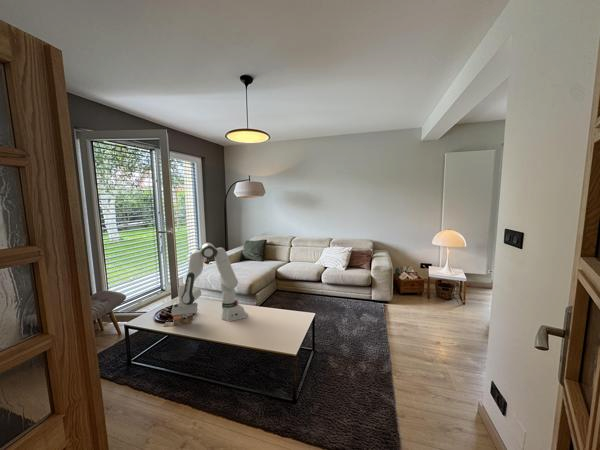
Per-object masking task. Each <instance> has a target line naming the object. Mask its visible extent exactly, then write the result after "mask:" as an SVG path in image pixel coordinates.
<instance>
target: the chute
mask: <svg viewBox="0 0 600 450" xmlns="http://www.w3.org/2000/svg"><path fill="white" fill-rule="evenodd" d="M184 316H187V315H186V314H184ZM193 320H194V313H192V314H188V316H187V319H179V320H174V324H173V322H166V321H165V323H164V325H163V327H165V328H166V327H174V326H183V325H185V326H186V325H192V323H193V322H192V321H193Z"/></svg>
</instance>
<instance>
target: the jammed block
mask: <svg viewBox="0 0 600 450" xmlns="http://www.w3.org/2000/svg"><path fill="white" fill-rule="evenodd" d="M179 319H183V317H182V315H172V320H173V324H174V320H179Z"/></svg>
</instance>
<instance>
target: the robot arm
mask: <svg viewBox="0 0 600 450" xmlns="http://www.w3.org/2000/svg"><path fill="white" fill-rule="evenodd" d="M205 259H214V261H215V265H216V267H217V271H218V272H219V274H220V275H219V281H220V288H221V295H222V298H221V299H222V302H221V308H222V310H221V316H220V318H221V319H222V320H223V321H227V322H233V321H239V320H243V319H246V318H248V317H247V316H248V313H247V311H246V310H245V309H244V307H243V306H242V305H241V304H239V301H238V299H236V290H235V288H236V287H237V286H238V283H239V281H238V279H237V275H236V274H235V272H234V269H233V267H232V265H231V262H230V259H229V256H228V253H227V251H226V250H225V248H224V247H215V246H214V244H213V243H211V242H207V241H206V242H204V243H203V244H202V245H201V246H200V248H199V249H198V250H194V251H193V252H192V253H190V257H189V261H188V262H189V263H188V271H187V275H186V279H185V283H183V284H181V285H179V286H178V289H177V290H178V292H177V296H178V300H177V301H175V302H173V303H172V308H171V313H170V314H171V316H174V315H182V317H183V319H187V316H188V314H197V313H198V305H199V304H198V303H197V302H196V301H197V300H198V299H199V298H200V297H201V296H202V291H201V289H199V288H198V287H195V286H194V285H195V281H196V280H197V278H198V277H199V276H200V275H201V274H202V272H203V269H204V262H205ZM184 315H187V316H184ZM242 318H243V319H242Z"/></svg>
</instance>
